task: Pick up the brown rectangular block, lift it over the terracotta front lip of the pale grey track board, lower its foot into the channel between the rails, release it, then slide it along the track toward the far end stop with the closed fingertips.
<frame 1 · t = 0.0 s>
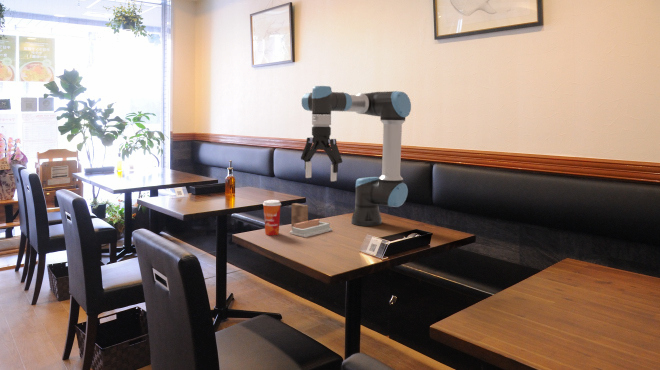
hand: (320, 179, 195), 28 cm above the table, fingers open, 13 cm apart
coffee cup: (272, 234, 219), on the table
brown rectangular block: (299, 227, 233), on the table
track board: (311, 231, 224), on the table
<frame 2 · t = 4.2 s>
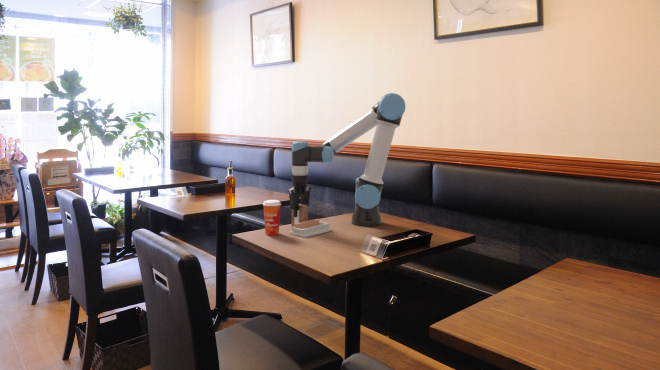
hand: (299, 222, 233), 2 cm above the table, fingers closed on brown rectangular block, 3 cm apart
brown rectangular block: (299, 227, 233), on the table, touching gripper
everything else where it was.
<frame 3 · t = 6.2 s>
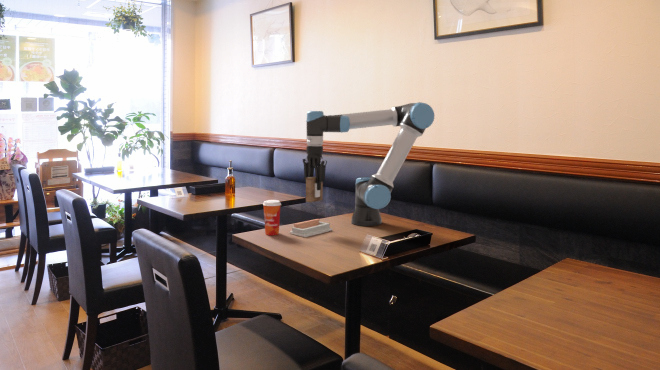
hand: (314, 196, 223), 16 cm above the table, fingers closed on brown rectangular block, 3 cm apart
brown rectangular block: (314, 200, 224), point 14 cm above the table, touching gripper
everything else where it was.
when the fingers open (5 cm above the table, at t = 8.4 s): brown rectangular block drops 2 cm, resting on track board.
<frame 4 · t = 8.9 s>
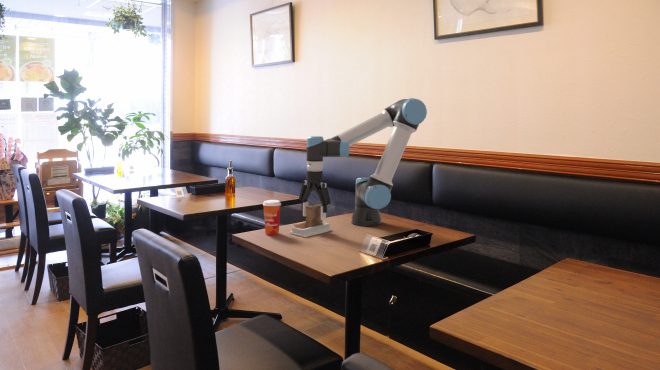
hand: (314, 217, 225), 6 cm above the table, fingers open, 10 cm apart
brown rectangular block: (314, 229, 225), point 1 cm above the table, touching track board
everything else where it was.
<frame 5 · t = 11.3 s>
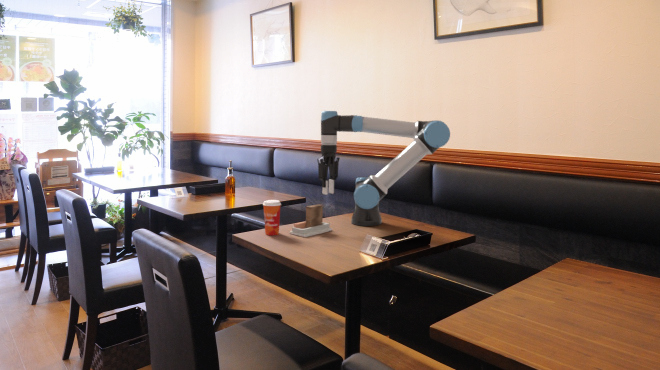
hand: (328, 193, 230), 17 cm above the table, fingers open, 4 cm apart
nothing on the table moved.
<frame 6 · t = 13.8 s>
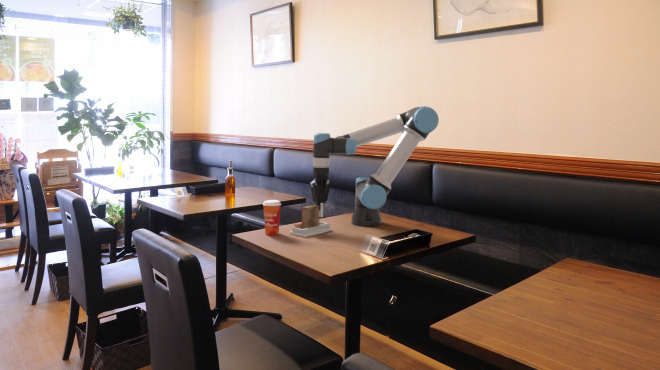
hand: (319, 216, 228), 6 cm above the table, fingers closed
brown rectangular block: (310, 229, 224), point 1 cm above the table, touching gripper, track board
everything else where it was.
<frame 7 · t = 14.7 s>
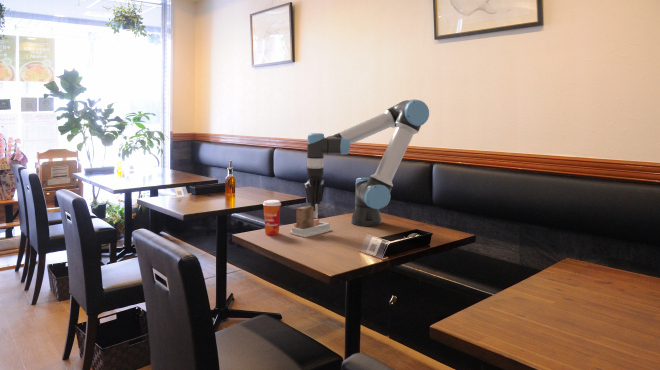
hand: (314, 217, 225), 6 cm above the table, fingers closed
brown rectangular block: (305, 231, 221), point 1 cm above the table, touching gripper, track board
everything else where it was.
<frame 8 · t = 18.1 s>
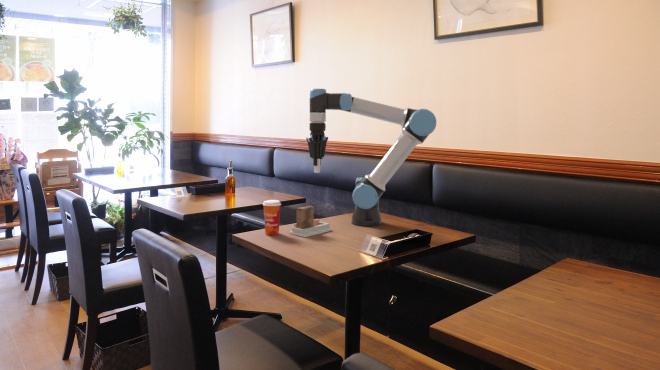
hand: (317, 172, 230), 26 cm above the table, fingers closed
brown rectangular block: (304, 231, 221), point 1 cm above the table, touching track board
everything else where it was.
at the end: brown rectangular block inside the target area on the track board (3.3 cm from its centre), point 1.0 cm above the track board's base; brown rectangular block tilted 0°; the gripper is holding nothing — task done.
